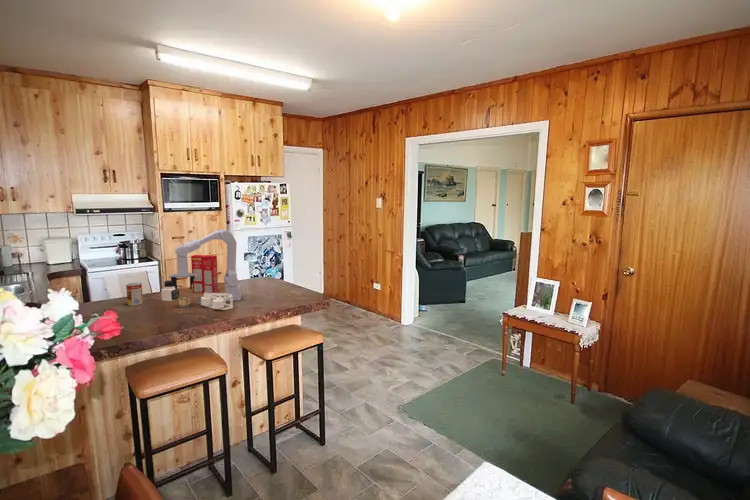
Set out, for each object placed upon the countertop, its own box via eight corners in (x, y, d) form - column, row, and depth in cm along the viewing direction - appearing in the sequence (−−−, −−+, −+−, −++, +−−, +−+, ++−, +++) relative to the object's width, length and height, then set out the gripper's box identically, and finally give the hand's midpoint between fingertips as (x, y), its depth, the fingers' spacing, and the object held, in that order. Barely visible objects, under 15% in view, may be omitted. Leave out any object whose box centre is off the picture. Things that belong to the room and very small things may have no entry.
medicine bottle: (171, 301, 245) (170, 282, 244) (161, 300, 247) (160, 281, 245) (179, 298, 252) (178, 279, 251) (169, 297, 254) (168, 279, 252)
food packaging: (218, 292, 269) (216, 255, 266) (214, 294, 264) (212, 256, 260) (197, 291, 271) (195, 254, 267) (193, 293, 265) (191, 255, 262)
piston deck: (189, 304, 240) (189, 296, 239) (188, 306, 234) (188, 298, 233) (180, 304, 238) (180, 296, 237) (179, 307, 232) (178, 299, 232)
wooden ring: (190, 302, 240) (189, 297, 239) (189, 305, 234) (189, 299, 234) (179, 303, 238) (179, 298, 237) (178, 305, 232) (178, 300, 232)
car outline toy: (197, 306, 235) (196, 294, 234) (213, 302, 245) (213, 290, 244) (220, 312, 225) (219, 299, 224) (235, 307, 234) (235, 295, 233)
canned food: (139, 301, 245) (137, 281, 243) (145, 303, 240) (144, 283, 239) (125, 303, 239) (123, 284, 237) (131, 306, 234) (129, 286, 232)
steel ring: (206, 301, 246) (206, 296, 246) (209, 303, 242) (209, 298, 242) (196, 303, 242) (196, 297, 242) (200, 305, 238) (200, 299, 238)
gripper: (196, 264, 239) (197, 287, 241) (169, 266, 234) (170, 288, 236) (195, 266, 232) (196, 289, 234) (167, 268, 227) (169, 291, 229)
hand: (183, 289), depth 235 cm, fingers open, 7 cm apart
